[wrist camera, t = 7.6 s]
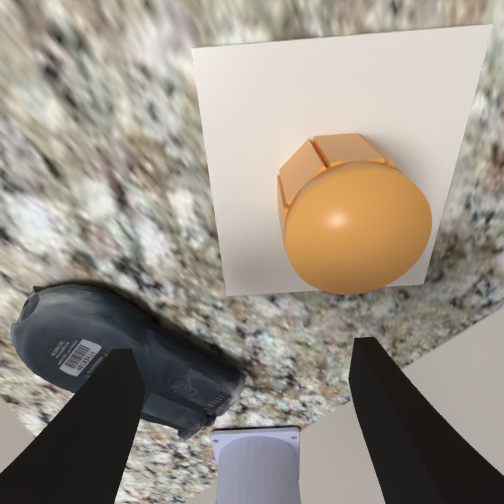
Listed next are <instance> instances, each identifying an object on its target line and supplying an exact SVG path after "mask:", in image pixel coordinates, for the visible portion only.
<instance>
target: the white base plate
mask: <svg viewBox="0 0 504 504" xmlns="http://www.w3.org/2000/svg"><path fill="white" fill-rule="evenodd" d="M493 25H494V24H485V25H464V26H452V27H439V28H427V29H415V30H402V31H390V32H378V33H365V34H353V35H341V36H328V37H316V38H304V39H291V40H279V41H267V42H254V43H242V44H230V45H217V46H205V47H196V48H191V51H192V58H193V65H194V72H195V79H196V86H197V93H198V100H199V107H200V114H201V121H202V128H203V135H204V142H205V149H206V156H207V163H208V170H209V176H210V183H211V190H212V197H213V204H214V211H215V218H216V225H217V232H218V239H219V246H220V253H221V260H222V267H223V274H224V281H225V288H226V295H227V296H237V295H255V294H272V293H289V292H306V291H322V290H319V289H317V288H315V287H313V286H311V285H309V284H308V283H306V282H305V281H304V280H303V279H302V278H301V277H300V276H299V275H298V274H297V273H296V271H295V270H294V268H293V267H292V265H291V262H290V260H289V257H288V256H287V252H286V250H284V245H283V239H282V233H281V227H280V221H279V215H278V197H277V175H280V173H279V169H280V168H281V167H282V166H283V165H284V164H285V163H286V162H287V161H288V160H289V159H290V157H291V156H292V155H293V154H294V153H295V152H296V151H297V150H298V149H299V148H300V147H301V146H302V145H303V144H304V143H305V141H306V140H307V139H309V140H310V141H311V142H312V143H313V138H314V136H321V135H335V134H349V133H357V134H358V135H359V136H361V135H362V136H363V137H365V138H366V139H367V140H368V141H369V142H370V143H371V144H373V145H374V146H375V147H376V148H377V149H378V150H379V151H381V152H382V153H383V154H384V155H385V156H386V157H387V158H389V159H390V160H391V161H392V162H393V163H394V164H395V165H396V166H397V168H398V169H399V170H400V171H401V172H402V173H403V174H404V175H405V176H406V177H407V178H408V179H409V180H410V181H411V182H412V183H414V184H415V185H416V186H417V187H418V188H419V189H420V190H421V191H422V193H423V194H424V195H425V197H426V199H427V201H428V203H429V206H430V209H431V214H432V230H431V235H430V238H429V241H428V244H427V246H426V248H425V250H424V252H423V253H422V255H421V257H420V258H419V259H418V261H417V262H416V263H415V264H414V265H413V266H412V267H411V268H410V269H409V270H408V271H407V272H406V273H405V274H404V275H402V276H401V277H400V278H398V279H397V280H395V281H394V282H392V283H390V284H388V285H386V286H384V287H392V286H409V285H423V284H424V281H425V277H426V273H427V269H428V266H429V262H430V258H431V255H432V251H433V247H434V244H435V240H436V236H437V232H438V229H439V225H440V221H441V218H442V214H443V210H444V206H445V203H446V199H447V195H448V192H449V188H450V184H451V180H452V177H453V173H454V169H455V166H456V162H457V158H458V154H459V151H460V147H461V143H462V140H463V136H464V132H465V128H466V125H467V121H468V117H469V114H470V110H471V106H472V103H473V99H474V95H475V91H476V88H477V84H478V80H479V77H480V73H481V69H482V65H483V62H484V58H485V54H486V51H487V47H488V43H489V39H490V36H491V32H492V28H493Z"/></svg>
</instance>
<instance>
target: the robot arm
mask: <svg viewBox="0 0 504 504" xmlns="http://www.w3.org/2000/svg"><path fill="white" fill-rule="evenodd" d="M348 380H349V384H350V389H351V394H352V399H353V403H354V407H355V411H356V414H357V418H358V421H359V424H360V427H361V430H362V433H363V436H364V438H365V442H366V445H367V448H368V451H369V454H370V457H371V460H372V463H373V466H374V469H375V472H376V475H377V478H378V481H379V484H380V487H381V490H382V493H383V496H384V500H385V503H386V504H504V476H503V475H502V474H501V473H500V472H499V471H498V470H497V469H495V468H494V467H493V466H492V465H491V464H490V463H489V462H488V461H487V460H486V459H484V457H482V456H481V455H480V454H479V453H478V452H477V451H476V450H475V449H474V448H473V447H472V446H471V445H470V444H469V443H468V442H467V441H465V439H464V438H463V437H462V436H461V435H460V434H459V433H458V432H456V430H454V428H453V427H452V426H451V425H450V424H449V423H448V422H447V421H446V420H445V419H444V418H443V417H442V416H441V415H440V414H439V413H438V412H437V411H436V409H434V408H433V406H432V405H431V404H430V403H429V402H428V401H427V400H426V398H425V397H424V396H423V395H422V394H421V393H420V392H419V391H418V389H417V388H416V387H415V386H414V385H413V384H412V383H411V381H410V380H409V379H408V378H407V377H406V375H405V374H404V373H403V372H402V371H401V369H400V368H399V367H398V366H397V365H396V363H395V362H394V361H393V360H392V358H391V357H390V356H389V355H388V353H387V352H386V351H385V349H384V348H383V347H382V346H381V344H380V343H379V342H378V340H377V339H376V338H375V337H363V338H355V339H354V346H353V352H352V358H351V365H350V371H349V378H348ZM145 389H146V387H145V384H144V381H143V379H142V376H141V373H140V371H139V368H138V365H137V363H136V360H135V357H134V354H133V352H132V349H131V348H126V349H112V350H111V351H110V353H109V354H108V355H107V356H106V357H105V359H104V360H103V361H102V362H101V363H100V365H99V366H98V367H97V368H96V369H95V371H94V372H93V373H92V374H91V376H90V377H89V378H88V379H87V380H86V382H85V383H84V384H83V385H82V386H81V388H80V389H79V390H78V391H77V392H76V393H75V395H74V396H73V397H72V398H71V399H70V400H69V402H68V403H67V404H66V405H65V406H64V407H63V409H62V410H61V411H60V412H59V413H58V414H57V415H56V416H55V418H54V419H53V420H52V421H51V422H50V423H49V424H48V425H47V426H46V427H45V428H44V429H43V431H42V432H41V433H40V434H39V435H38V436H37V437H36V438H35V439H34V440H33V441H32V442H31V443H30V444H29V446H28V447H27V448H26V449H25V450H24V451H23V452H22V453H21V454H20V455H19V456H18V457H17V458H16V459H15V460H14V461H13V462H12V463H11V464H10V465H9V466H8V467H7V468H6V469H4V470H3V472H1V473H0V504H114V502H115V498H116V495H117V492H118V488H119V485H120V482H121V479H122V476H123V472H124V469H125V466H126V463H127V460H128V456H129V453H130V450H131V447H132V444H133V440H134V437H135V434H136V431H137V427H138V424H139V421H140V416H141V411H142V406H143V401H144V395H145ZM210 440H211V444H212V448H213V452H214V455H215V459H216V463H217V467H218V476H217V490H216V504H301V500H300V491H299V483H298V480H299V455H300V431H299V429H298V428H296V427H291V428H269V429H247V430H225V431H213V432H211V433H210Z"/></svg>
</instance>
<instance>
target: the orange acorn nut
mask: <svg viewBox="0 0 504 504" xmlns="http://www.w3.org/2000/svg"><path fill="white" fill-rule="evenodd" d="M279 173H280V175H277V197H278V215H279V221H280V227H281V233H282V239H283V245H284V250H286V252H287V256H288V257H289V260H290V262H291V265H292V267H293V268H294V270H295V271H296V273H297V274H298V275H299V276H300V277H301V278H302V279H303V280H304V281H305V282H306V283H308V284H309V285H311V286H313V287H315V288H317V289H319V290H322V291H325V292H328V293H333V294H341V295H353V294H361V293H366V292H370V291H373V290H377V289H379V288H381V287H384V286H386V285H388V284H390V283H392V282H394V281H395V280H397V279H398V278H400V277H401V276H402V275H404V274H405V273H406V272H407V271H408V270H409V269H410V268H411V267H412V266H413V265H414V264H415V263H416V262H417V261H418V259H419V258H420V257H421V255H422V253H423V252H424V250H425V248H426V246H427V244H428V241H429V238H430V235H431V230H432V214H431V209H430V206H429V203H428V201H427V199H426V197H425V195H424V194H423V193H422V191H421V190H420V189H419V188H418V187H417V186H416V185H415V184H414V183H412V182H411V181H410V180H409V179H408V178H407V177H406V176H405V175H404V174H403V173H402V172H401V171H400V170H399V169H398V168H397V166H396V165H395V164H394V163H393V162H392V161H391V160H390V159H389V158H387V157H386V156H385V155H384V154H383V153H382V152H381V151H379V150H378V149H377V148H376V147H375V146H374V145H373V144H371V143H370V142H369V141H368V140H367V139H366V138H365V137H363V136H362V135H361V136H359V135H358V134H357V133H349V134H335V135H321V136H314V138H313V143H312V142H311V141H310V140H309V139H307V140H306V141H305V143H304V144H303V145H302V146H301V147H300V148H299V149H298V150H297V151H296V152H295V153H294V154H293V155H292V156H291V157H290V159H289V160H288V161H287V162H286V163H285V164H284V165H283V166H282V167H281V168H280V169H279Z"/></svg>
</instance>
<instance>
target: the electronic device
mask: <svg viewBox="0 0 504 504" xmlns="http://www.w3.org/2000/svg"><path fill="white" fill-rule="evenodd" d="M10 338H11V343H13V345H14V347H15V349H16V352H17V354H18V355H19V357H20V358H21V360H22V361H23V362H24V363H25V364H26V366H27V367H28V368H29V369H31V371H32V372H34V373H35V374H37V375H38V376H40V377H41V378H43V379H44V380H46V381H48V382H50V383H52V384H54V385H56V386H58V387H60V388H62V389H65V390H68V391H70V392H72V393H76V392H77V391H78V390H79V389H80V388H81V386H82V385H83V384H84V383H85V382H86V380H87V379H88V378H89V377H90V376H91V374H92V373H93V372H94V371H95V369H96V368H97V367H98V366H99V365H100V363H101V362H102V361H103V360H104V359H105V357H106V356H107V355H108V354H109V353H110V351H111V350H112V349H126V348H131V349H132V352H133V354H134V357H135V360H136V363H137V365H138V368H139V371H140V373H141V376H142V379H143V381H144V384H145V387H146V389H145V395H144V401H143V406H142V411H141V416H140V418H141V419H143V420H146V421H148V422H152V423H158V424H161V425H165V426H169V427H172V428H174V429H177V430H178V436H179V437H180V438H179V440H180V441H183V442H185V441H186V440H188V439H189V438H190V437H191V436H193V435H194V434H195V433H197V432H198V431H199V430H200V429H201V430H204V429H205V428H207V427H209V426H211V425H213V424H214V422H215V419H216V417H217V416H218V417H219V416H222V415H223V414H224V413H225V412H226V411H227V410H228V409H229V407H230V406H231V405H233V404H234V403H236V402H237V401H238V400H239V399H240V395H241V393H242V392H243V390H244V385H245V378H246V376H247V375H245V374H243V373H242V372H241V371H240V370H239V369H238V368H236V367H235V366H234V365H231V364H229V363H227V362H224V361H223V360H221V359H219V358H217V357H216V356H214V355H212V354H211V353H209V352H207V351H206V350H204V349H202V348H199V347H198V346H196V345H194V344H193V343H191V342H189V341H188V340H186V339H185V338H183V337H181V336H179V335H175V334H174V333H172V332H170V331H169V330H167V329H165V328H162V327H160V326H159V325H157V324H156V323H154V322H153V321H151V320H150V319H148V318H146V317H145V316H144V314H143V313H142V312H141V311H140V310H138V309H137V308H136V307H135V306H134V305H132V304H129V303H128V302H126V301H125V300H124V299H122V298H121V297H120V296H119V295H117V294H115V293H112V292H110V291H107V290H106V289H103V288H96V287H92V286H88V285H78V284H66V285H60V286H56V287H51V288H46V289H44V290H41V291H39V292H37V293H36V292H33V286H32V288H31V291H30V295H29V296H28V298H27V300H26V302H25V304H24V306H23V309H22V312H21V314H20V317H19V319H18V323H14V322H13V324H12V327H11V333H10Z"/></svg>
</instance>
